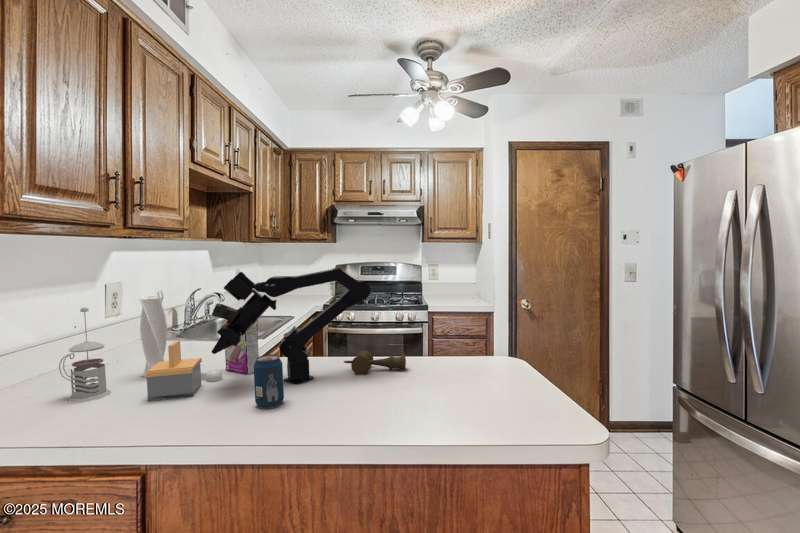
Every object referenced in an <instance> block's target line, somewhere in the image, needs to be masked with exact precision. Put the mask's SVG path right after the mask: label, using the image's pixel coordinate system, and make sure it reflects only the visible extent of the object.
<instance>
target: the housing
mask: <svg viewBox="0 0 800 533" xmlns="http://www.w3.org/2000/svg"><path fill="white" fill-rule="evenodd" d="M201 369H202V368H201V362H199V363H198V365H197V366H196V367H195V368H194V369H193V370H192V371H193V372H192V373H187V374H177V375H166V376H156V377H147V378H146V388H147V389H146V390H147V391H146V392H147V402H154V401H153V400H157V401H163V400H162V399H166V400H171V398H175V399H180V398H179V397H184V398H190V397H189V396H193V397H194V396H195V395H194V394H196V393H197V392H198V391H199V390H200V388H201V387H202V380H201V372H202V371H201ZM197 390H198V391H197ZM196 391H197V392H196Z"/></svg>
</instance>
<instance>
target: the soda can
mask: <svg viewBox="0 0 800 533" xmlns="http://www.w3.org/2000/svg"><path fill="white" fill-rule="evenodd" d="M283 367H284V366H283V361H282V360H281V358H280V355H278V354H265V355H261V356H259V357H257V358H256V362H255V364H254V373H253V381H254V383H253V384H254V385H253V386H254V403H255V404H256V405H257V407H258V408H259V409H265V410H266V409H268V410H269V409H274V408H277V407H279V406H281V404H282V403H283V401H284V398H285V394H284V393H285V392H284V373H283V372H284V371H283V370H284V368H283Z"/></svg>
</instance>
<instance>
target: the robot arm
mask: <svg viewBox="0 0 800 533" xmlns="http://www.w3.org/2000/svg"><path fill="white" fill-rule="evenodd" d="M332 282H337V283H339V284H340V285H342V286H343V287H344V288H346V289H345V290H343V293H342V294H341V295H340V296H339V297H338V298H337V299H336V300H335V301H334V302H332V303H331V304H329V306H327V307H326V308H324V310H322V311H321V312H320V313H319V314H317V315H316V316H315V317H313V318H312V319H311V320H310V321H309V322H307V323H306V324H304V326H301V327H300V328H298V329H297V327H296V325H294V326H293V327H292V328H291V329H290V330H289V331H288V332H286V333H283V338H282V339H281V341H280V347H279V348H280V349H279V350H280V353H281V354H282V355H283V356H284V357H286V358H287V364H286V367H287V368H286V369H287V377H285V378H283V382H288V383H291V384H295V385H299V384H301V383H304V382H308V381H310V380H313V379H314V378H315V376H313V375H311V374H310V359H309V358H308V357H309V355H308V354H309V353H308V348H307V347H306V346H307V344H308V343H309V341H310V340H311V339H312V338H313V337H314V336H315V335H316V334H317V333H318V332H320V331H321V330H322V329H324V328H325V327H326V326H327V325H329V324H330V323H331V322H333V321H334V320H335V319H337V317H338V316H340V315H342V313H343V312H344V311H346V310H347V309H349V308H351V307H352V306H355V305H357V304H360V303H361V302H362V301H365V300H366V299H367V298H368V297H369V296H370V295H371V286H370V285H369V284H368V283H367V282H366V281H364V280H361V279H355V277H352V276H351V275H349V274H348V273H347V272H345V271H344V270H343V269H341V268H339V267H333V268H331V269H327V270H320V271H316V272H310V273H306V274H305V273H304V274H301V275H292V276H291V275H282V276H281V275H278V276H271V277H269V278H267V280H266V281H261V282H256V283H255V282H254V281H252V280H251V279H250V278H249V277H248V276H247V275H246V274H245V273H244V272H243V271H239V272H238V273H237V274H236V275H235V276H234V277H233V278H232V279H230V280H229V281H228V282H227V283H226V284H225V285H224V286H223V289H224V290H225V291H226V292H227V293H228V294H229V295H231V296H232V297H233V298H235V300H237V301H238V302H239V301H240V300H241V301H242V300H243V301H246V300H247V299H248V300H247V301H246V302H245V303H244V304H243V305H242V306H240V307H239V308H237V309H238V310H237V309H236V308H234V307H232V306H228V305H225V304H223V303H216V304H215V306H214V308H213V311H212V313H211V316H212V317H217V318H219V319H223V320H226V321H227V322H226V323H227V324H226V325H224V324H223V325H222V326H221V327H220V328H219V329H218V330H217V334H218V335H219V336H220V337H219V339H218V340H217V342H216V343H215V345H214V347H213V348H212V350H211V353H212V354H213V355H216V354H218V353H219V352H222V351H223V350H224V351H225V349H226V348H228V347H230V346H232V345H233V346H236V345H237V344H238V343H239V342H240V341H241V339H242V336H243V335H244V334H245V333H246V332H247V330H248V329H249V328H250V327H251V326H252V325H253V324H254V323H255V322H256V321H257V320H258V321H259V318H260V317H261V316H262V315H263V314H264V313H265V312H266V311H267V310H268V309H269V308H270V309H272V310H273V311H276V310H277V299H271V298H278V297H279V296H283V295H285V294H287V293H291V292H293V291H295V290H297V289H301V288H307V287H312V286H318V285H322V284H327V283H332ZM260 293H264V294H260ZM251 294H252V295H251ZM250 295H251V296H250ZM249 297H250V298H249Z"/></svg>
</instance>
